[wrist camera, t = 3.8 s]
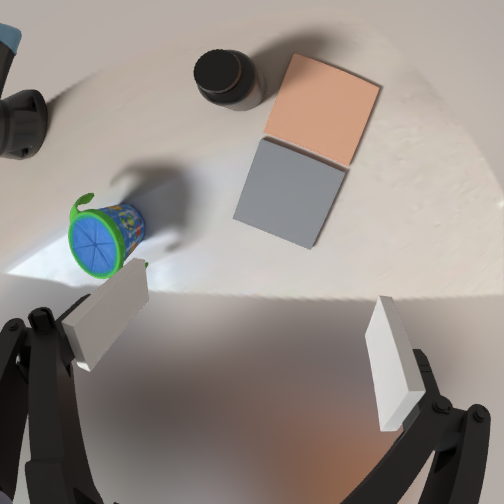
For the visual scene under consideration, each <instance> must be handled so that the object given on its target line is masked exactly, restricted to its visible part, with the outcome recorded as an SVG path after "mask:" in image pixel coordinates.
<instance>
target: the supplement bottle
mask: <svg viewBox="0 0 504 504" xmlns="http://www.w3.org/2000/svg"><path fill="white" fill-rule="evenodd" d="M193 72H194V77H195V81H196V83H197V86H198V89H199V91H200V93H201V94H202V96H203V97H204V98H205V99H206V100H208V101H209V102H211V103H213V104H216V105H219V106H222V107H225V108H228V109H231V110H234V111H246V110H250V109H252V108H254V107H255V106H257V105H258V104H259V103H260V102H261V101H262V99H263V98H264V96H265V93H266V82H265V79H264V77H263V75H262V73H261V72H260V71H259V69H258V68H257V66H256V65H255V64H254V62H253V61H252V60H251V59H250V58H249V57H248V56H247V55H245V54H244V53H242V52H239V51H235V50H223V49H220V50H219V49H216V50H212V51H208V52H207V53H205V54H204V55H203V56H201V57H200V59H198V61H197V63H196V64H195V67H194V71H193Z"/></svg>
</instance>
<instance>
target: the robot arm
mask: <svg viewBox="0 0 504 504" xmlns="http://www.w3.org/2000/svg"><path fill="white" fill-rule="evenodd" d="M21 37H22V34H21V31H20V30H19V29H17V28H15V27H12V26H9V25H5V24H1V23H0V98H1V95H2V92H3V88H4V85H5V82H6V78H7V75H8V72H9V69H10V67H11V64H12V61H13V58H14V56H16V53H17V52H16V51H17V48H18V45H19V43H20V40H21ZM46 126H47V109H46V104H45V100H44V98H43V96H42V95H41V93H40V92H39V91H37V90H22V91H20V92H18V93H16V94H14V95H11V96H9V97H7V98H5V99H3V100H0V157H3V158H9V159H15V160H23V159H27V158H30V157H32V156H34V155H35V154H36V153H37V151H38V150H39V148H40V146H41V144H42V142H43V139H44V136H45V132H46ZM148 300H149V295H148V287H147V278H146V268H145V260H143V259H137V258H133V259H132V260H131V261H129V262H128V263H127V264H126V265H125V266H123V267H122V268H121V269H120V270H119V271H118V272H116V273H115V274H114V275H113V276H112V277H111V278H109V279H108V280H107V281H106V282H105V283H104V284H102V285H101V286H100V287H99V288H98V289H97V290H96V291H95V292H93V293H92V294H87V295H85V296H84V297H81V298H80V299H79V300H78V301H77V302H76V303H75V304H73V305H72V306H71V307H70V309H68V310H67V311H65V313H63V314H62V315H61V316H60V317H59V318H58V319H57V320H56V321H55V320H54V317H53V314H52V311H51V310H50V309H49V308H47V307H40V308H37V309H35V310H33V311H32V312H31V313H30V314H29V316H28V320H29V322H30V325H31V327H32V328H28V327H26V326H25V324H24V321H23V320H22V319H20V318H14V319H11V320H9V321H8V322H7V323H6V324H5V325H4V327H3V329H2V331H1V332H0V504H13V503H12V502H13V499H14V495H15V491H16V484H17V476H18V467H19V459H20V452H21V446H22V440H23V434H24V429H25V424H26V419H27V415H28V416H29V417H28V419H29V439H30V451H31V460H30V461H28V462H26V464H25V475H26V482H27V489H28V494H29V500H30V504H104V503H103V500H102V498H101V496H100V494H99V493H98V491H97V489H96V487H95V485H94V482H93V479H92V475H91V472H90V468H89V464H88V460H87V456H86V451H85V447H84V442H83V438H82V432H81V427H80V421H79V415H78V408H77V401H76V394H75V384H74V374H73V366H72V363H71V361H72V360H73V359H74V358H75V359H76V362H77V364H78V366H79V367H81V368H83V369H86V370H88V371H91V370H92V369H93V367H94V366H95V365H96V363H97V362H98V361H99V360H100V358H101V357H102V356H103V355H104V353H105V352H106V351H107V350H108V348H109V347H110V346H111V345H112V344H113V342H114V341H115V340H116V339H117V337H118V336H119V335H120V334H121V332H122V331H123V330H124V329H125V328H126V327H127V325H128V324H129V323H130V322H131V320H132V319H133V318H134V317H135V316H136V315H137V313H138V312H139V311H140V310H141V309H142V307H143V306H144V305H145V304H146V303H147V302H148ZM365 338H366V343H367V347H368V353H369V358H370V363H371V369H372V375H373V380H374V386H375V393H376V400H377V407H378V414H379V421H380V430H381V431H397V429H398V428H399V427H400V426H401V424H403V430H404V431H403V432H402V433H401V435H400V436H399V437H398V438H397V439H396V440H395V442H394V444H393V445H392V446H391V448H390V449H389V450H388V452H387V453H386V454H385V455H384V457H383V458H382V459H381V460H380V461H379V463H378V464H377V465H376V466H375V467H374V468H373V470H372V471H371V472H370V473H369V474H368V475H367V476H366V478H364V480H363V481H362V482H361V483H360V484H359V485H358V486H357V487H356V488H355V489H354V490H353V491H352V492H351V493H350V494H349V495H348V496H347V497H346V498H345V499H344V500H343V501H342V502H341V503H340V504H397V503H398V502H399V500H400V499H401V498H402V496H403V495H404V493H405V492H406V491H407V490H408V488H409V487H410V485H411V484H412V483H413V481H414V479H415V478H416V477H417V475H418V473H419V472H420V471H421V469H422V467H423V466H424V464H425V463H426V461H427V459H428V458H429V456H430V455H431V453H432V451H433V450H434V451H435V455H434V458H433V462H432V465H431V468H430V471H429V474H428V477H427V480H426V483H425V486H424V489H423V492H422V494H421V497H420V499H419V502H418V504H478V503H479V498H480V494H481V490H482V484H483V479H484V474H485V468H486V461H487V455H488V446H489V436H490V422H491V417H490V413H489V411H488V410H487V409H486V408H485V407H484V406H482V405H480V404H474V405H472V406H471V407H470V408H469V409H468V410H467V411H464V410H461V409H456V408H453V406H452V404H451V402H450V401H449V400H448V399H447V398H446V397H444V396H441V395H440V392H439V389H438V386H437V383H436V381H435V378H434V375H433V373H432V369H431V367H430V364H429V361H428V359H427V357H426V355H425V354H424V353H423V352H422V351H421V350H420V349H412V348H411V345H410V342H409V339H408V337H407V334H406V332H405V329H404V326H403V324H402V321H401V318H400V316H399V313H398V311H397V308H396V306H395V304H394V301H393V299H392V297H387V296H379V297H378V300H377V303H376V306H375V309H374V312H373V315H372V318H371V321H370V323H369V326H368V329H367V332H366V334H365ZM16 358H17V359H18V361H17V363H16ZM114 504H118V503H116V502H114Z"/></svg>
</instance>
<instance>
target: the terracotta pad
mask: <svg viewBox="0 0 504 504" xmlns="http://www.w3.org/2000/svg"><path fill="white" fill-rule="evenodd" d="M378 91H379V88H378V87H376V86H374V85H372V84H370V83H368V82H366V81H364V80H362V79H360V78H357V77H355V76H353V75H351V74H348V73H346V72H344V71H341V70H339V69H336V68H334V67H331V66H329V65H326V64H324V63H321V62H318V61H316V60H313V59H310V58H307V57H304V56H301V55H298V54H295V53H294V54H293V57H292V59H291V62H290V64H289V67H288V69H287V72H286V75H285V77H284V80H283V82H282V85H281V87H280V90H279V93H278V95H277V98H276V100H275V103H274V106H273V108H272V111H271V114H270V116H269V119H268V122H267V124H266V127H265V130H264V133H267V134H270V135H273V136H276V137H278V138H281V139H284V140H286V141H289V142H291V143H294V144H297V145H299V146H302V147H304V148H307V149H309V150H311V151H314V152H316V153H319V154H321V155H323V156H326V157H328V158H330V159H333V160H335V161H337V162H339V163H342V164H344V165H346V166H349V164H350V161H351V159H352V156H353V154H354V152H355V149H356V147H357V144H358V142H359V140H360V137H361V135H362V132H363V130H364V127H365V125H366V122H367V120H368V117H369V114H370V112H371V109H372V107H373V104H374V101H375V99H376V96H377V94H378Z"/></svg>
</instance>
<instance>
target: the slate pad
mask: <svg viewBox="0 0 504 504" xmlns="http://www.w3.org/2000/svg"><path fill="white" fill-rule="evenodd" d="M344 175H345V172H342V171H340V170H338V169H336V168H334V167H331V166H329V165H327V164H324V163H322V162H320V161H317V160H315V159H313V158H310V157H308V156H305V155H303V154H300V153H298V152H295V151H293V150H290V149H288V148H285V147H282V146H280V145H277V144H274V143H272V142H269V141H266V140H264V139H261V140H260V143H259V146H258V149H257V151H256V154H255V157H254V160H253V162H252V165H251V168H250V171H249V173H248V176H247V179H246V182H245V185H244V188H243V190H242V193H241V196H240V199H239V202H238V205H237V208H236V210H235V213H234V216H233V219H235V220H238V221H240V222H243V223H245V224H248V225H250V226H253V227H255V228H258V229H260V230H263V231H265V232H268V233H270V234H273V235H275V236H278V237H280V238H283V239H285V240H288V241H290V242H293V243H295V244H297V245H300V246H302V247H305V248H307V249H310V250H311V248H312V246H313V244H314V242H315V240H316V237H317V235H318V233H319V231H320V229H321V227H322V225H323V222H324V220H325V218H326V216H327V214H328V211H329V209H330V207H331V205H332V203H333V200H334V198H335V196H336V194H337V191H338V189H339V187H340V185H341V182H342V180H343V178H344Z"/></svg>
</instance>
